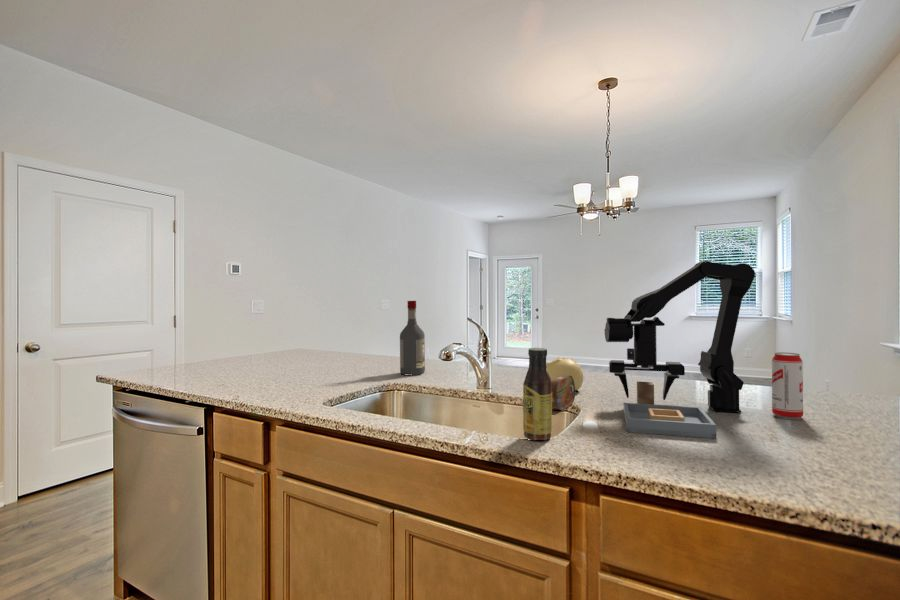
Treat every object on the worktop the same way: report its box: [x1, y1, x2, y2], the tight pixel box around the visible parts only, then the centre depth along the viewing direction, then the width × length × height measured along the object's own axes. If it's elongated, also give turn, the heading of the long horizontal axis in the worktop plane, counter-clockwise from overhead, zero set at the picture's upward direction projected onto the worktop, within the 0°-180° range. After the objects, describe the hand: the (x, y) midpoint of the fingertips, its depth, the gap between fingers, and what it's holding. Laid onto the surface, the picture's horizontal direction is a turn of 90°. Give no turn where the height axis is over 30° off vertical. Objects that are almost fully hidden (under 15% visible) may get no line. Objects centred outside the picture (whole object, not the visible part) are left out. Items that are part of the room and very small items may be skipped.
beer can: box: [771, 351, 804, 421], centre depth 113 cm, size 6×6×16 cm
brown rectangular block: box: [636, 380, 655, 405], centre depth 123 cm, size 4×4×7 cm
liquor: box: [399, 300, 426, 376], centre depth 184 cm, size 9×9×30 cm
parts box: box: [623, 402, 718, 440], centre depth 107 cm, size 18×16×3 cm
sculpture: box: [546, 357, 584, 391], centre depth 149 cm, size 12×12×11 cm
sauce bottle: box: [522, 347, 553, 441], centre depth 99 cm, size 7×6×20 cm
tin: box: [551, 375, 576, 411], centre depth 127 cm, size 15×3×8 cm, turn 146°
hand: (645, 398), depth 124 cm, fingers open, 9 cm apart
